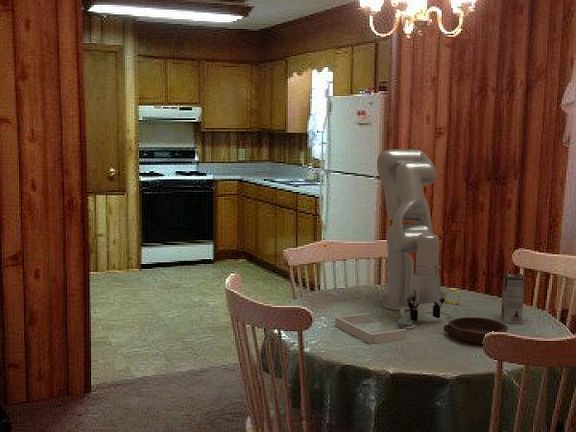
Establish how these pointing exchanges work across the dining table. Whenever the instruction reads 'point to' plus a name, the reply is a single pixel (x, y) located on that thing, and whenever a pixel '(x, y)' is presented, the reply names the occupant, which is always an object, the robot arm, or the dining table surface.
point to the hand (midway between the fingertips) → (425, 318)
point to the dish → (473, 328)
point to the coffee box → (512, 298)
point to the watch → (455, 291)
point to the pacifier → (405, 320)
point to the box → (371, 338)
